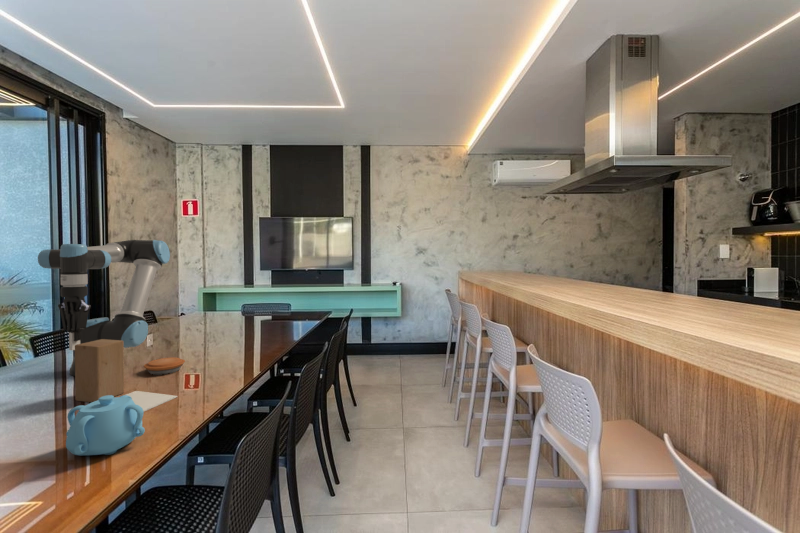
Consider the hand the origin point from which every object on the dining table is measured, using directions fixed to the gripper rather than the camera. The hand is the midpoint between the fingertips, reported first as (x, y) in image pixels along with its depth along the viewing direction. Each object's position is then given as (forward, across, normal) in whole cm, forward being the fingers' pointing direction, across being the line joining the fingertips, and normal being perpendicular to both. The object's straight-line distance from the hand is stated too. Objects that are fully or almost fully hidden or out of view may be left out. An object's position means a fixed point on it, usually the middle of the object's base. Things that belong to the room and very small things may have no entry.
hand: (74, 349), depth 136 cm
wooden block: (+17, +12, 0) cm, 21 cm away
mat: (+17, +29, 0) cm, 33 cm away
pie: (+17, +8, +31) cm, 36 cm away
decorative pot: (+17, +49, -26) cm, 58 cm away
